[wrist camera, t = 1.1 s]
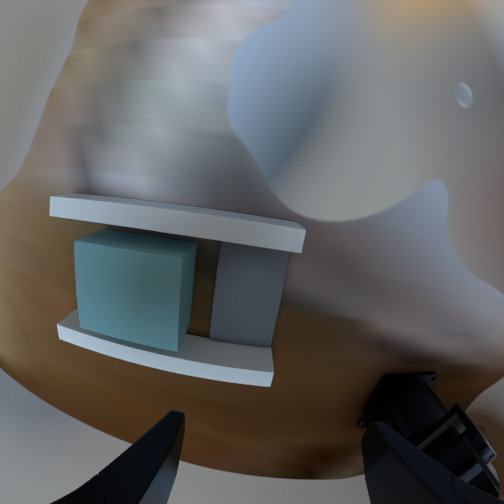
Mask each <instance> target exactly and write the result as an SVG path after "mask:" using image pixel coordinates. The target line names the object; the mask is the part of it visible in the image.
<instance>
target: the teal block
mask: <svg viewBox="0 0 504 504" xmlns="http://www.w3.org/2000/svg"><path fill="white" fill-rule="evenodd" d="M196 249H197V243H196V242H189V241H182V240H176V239H169V238H162V237H155V236H148V235H141V234H134V233H127V232H120V231H113V230H106V229H105V230H102V231H100V232H97V233H94V234H91V235H88V236H86V237H83V238H80V239H77V240H75V241H74V253H75V278H76V293H77V304H78V313H79V321H80V328H83V329H86V330H90V331H93V332H97V333H100V334H103V335H107V336H111V337H114V338H118V339H122V340H126V341H130V342H134V343H138V344H142V345H147V346H151V347H155V348H160V349H165V350H170V351H175V352H178V350H179V347H180V345H181V343H182V340H183V338H184V336H185V333H186V331H187V328H188V326H189V324H190V321H191V306H192V293H193V281H194V270H195V259H196Z"/></svg>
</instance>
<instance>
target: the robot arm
mask: <svg viewBox="0 0 504 504" xmlns="http://www.w3.org/2000/svg"><path fill="white" fill-rule="evenodd" d="M437 377H438V375H437V374H436V373H435V372H428V373H416V374H398V375H385V376H383V377H382V378H381V380H380V382H379V384H378V386H377V388H376V390H375V392H374V394H373V396H372V398H371V400H370V402H369V404H368V405H367V407H366V409H365V411H364V413H363V415H362V416H361V418H360V420H359V422H358V424H357V426H358V428H359V429H366V432H365V434H364V435H363V437H362V440H361V447H362V455H363V464H364V473H365V480H366V485H367V489H368V493H369V498H370V502H371V504H504V500H501V499H498V497H499V488H500V484H499V480H498V477H497V474H496V471H495V469H494V467H493V466H492V464H491V463H490V462H491V461H492V460H493V459H494V458H495V457H496V456H497V455H496V454H495V452H494V451H493V449H492V447H491V446H490V444H489V443H488V442H487V440H486V438H485V437H484V435H483V434H482V432H481V431H480V430H479V428H478V427H477V426H476V425H475V423H474V422H473V421H472V419H471V418H470V417H469V416H468V415H467V414H466V412H465V411H464V410H463V409H462V408H461V407H460V406H459V405H458V403H456V404H455V405H454V406H453V407H452V409H451V410H450V411H449V412H448V411H447V409H446V408H445V407H444V405H443V404H442V403H441V401H440V400H439V399H438V397H437V396H436V395H435V393H434V392H433V391H432V387H433V385H434V383H435V381H436V380H437ZM385 381H386V382H385ZM465 429H466V430H465ZM464 430H465V431H464ZM463 431H464V432H463ZM184 432H185V414H184V413H183V412H179V411H175V410H171V411H169V412H168V413H167V414H166V415H165V416H164V417H163V418H162V419H161V420H160V421H158V422H157V423H156V424H155V425H154V426H153V427H152V428H151V429H150V430H148V431H147V432H146V433H145V434H144V435H143V436H142V437H141V438H139V439H138V440H137V441H136V442H135V443H134V444H132V445H131V446H130V447H129V448H128V449H127V450H126V451H124V452H123V453H122V454H121V455H120V456H118V457H117V458H116V459H115V460H114V461H112V462H111V463H110V464H109V465H108V466H106V467H105V468H104V469H103V470H101V471H100V472H99V475H98V474H97V475H95V476H94V477H93V478H91V479H90V480H89V481H87V482H86V483H85V484H83V485H82V486H80V487H79V488H78V489H76V490H74V491H73V492H71V493H69V494H67V495H66V496H64V497H62V498H61V499H58V500H57V501H54V502H52V503H50V504H167V501H168V498H169V495H170V492H171V489H172V486H173V484H174V481H175V478H176V474H177V470H178V465H179V459H180V454H181V449H182V443H183V438H184ZM462 432H463V433H462ZM461 433H462V434H461Z"/></svg>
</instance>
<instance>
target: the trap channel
mask: <svg viewBox="0 0 504 504" xmlns="http://www.w3.org/2000/svg"><path fill="white" fill-rule="evenodd" d="M50 216H55V217H62V218H69V219H76V220H83V221H90V222H97V223H104V224H111V225H118V226H124V227H131V228H138V229H145V230H152V231H158V232H165V233H172V234H179V235H185V236H192V237H199V238H205V239H212V240H218V241H221V244H220V252H219V259H218V267H217V275H216V283H215V291H214V300H213V308H212V317H211V326H210V335H209V338H206V337H200V336H194V335H189V334H185V336H184V338H183V340H182V343H181V345H180V347H179V350H178V352H175V351H170V350H165V349H160V348H155V347H151V346H147V345H142V344H138V343H134V342H130V341H126V340H122V339H118V338H114V337H111V336H107V335H103V334H100V333H97V332H93V331H90V330H86V329H83V328H80V321H79V313H78V308H76V309H75V310H74V311H73V312H71V313H70V314H69V315H68V316H66V317H65V318H64V319H63V320H62V321H60V322H59V323H58V324H57V328H58V334H59V339H62V340H64V341H67V342H70V343H72V344H75V345H78V346H81V347H84V348H87V349H90V350H93V351H96V352H99V353H102V354H105V355H108V356H112V357H115V358H119V359H122V360H126V361H129V362H133V363H137V364H141V365H145V366H149V367H153V368H157V369H161V370H166V371H170V372H175V373H180V374H185V375H190V376H195V377H201V378H206V379H212V380H219V381H225V382H232V383H240V384H248V385H257V386H266V387H270V386H271V382H272V378H273V375H274V368H273V359H272V350H271V342H272V338H273V333H274V329H275V324H276V320H277V315H278V311H279V306H280V301H281V296H282V292H283V287H284V282H285V277H286V272H287V267H288V262H289V257H290V252H296V253H302V248H303V243H304V238H305V233H306V230H305V229H304V228H303V227H302V226H301V225H299V224H298V223H297V222H292V221H286V220H280V219H274V218H268V217H262V216H255V215H249V214H242V213H236V212H229V211H222V210H215V209H208V208H201V207H194V206H186V205H179V204H171V203H163V202H155V201H146V200H138V199H129V198H119V197H110V196H100V195H90V194H79V193H75V194H65V195H56V196H50Z"/></svg>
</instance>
